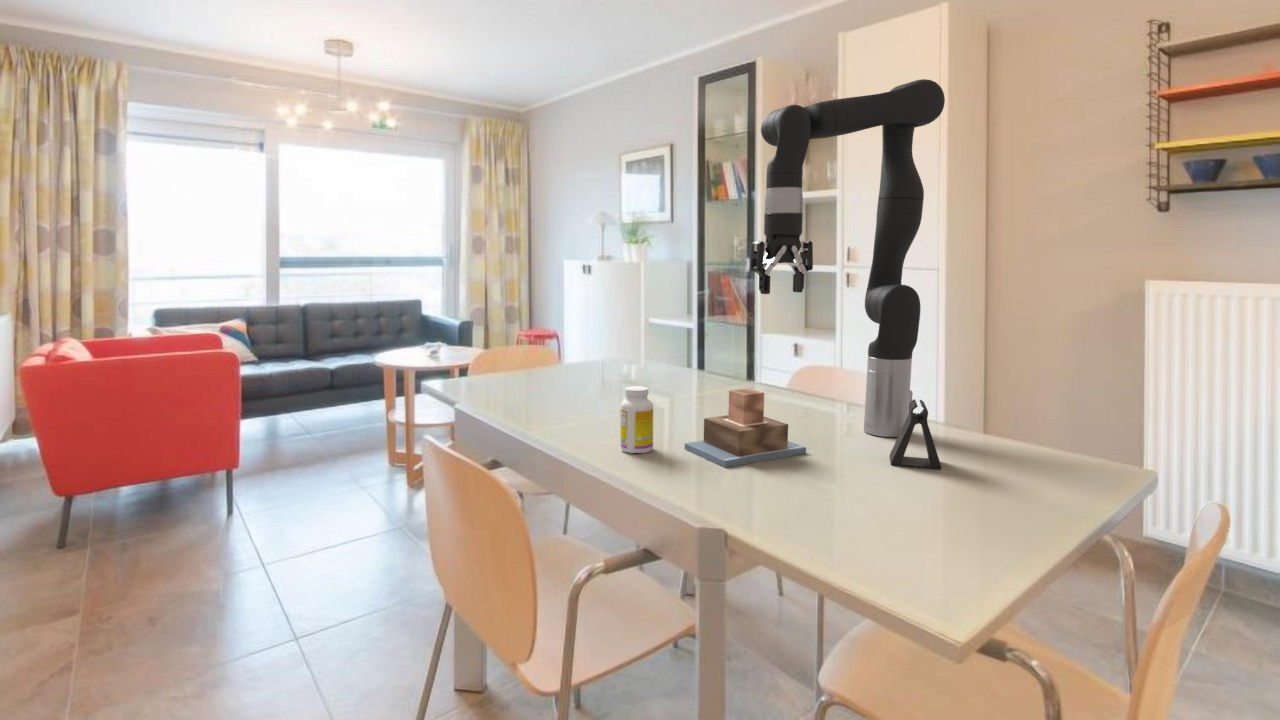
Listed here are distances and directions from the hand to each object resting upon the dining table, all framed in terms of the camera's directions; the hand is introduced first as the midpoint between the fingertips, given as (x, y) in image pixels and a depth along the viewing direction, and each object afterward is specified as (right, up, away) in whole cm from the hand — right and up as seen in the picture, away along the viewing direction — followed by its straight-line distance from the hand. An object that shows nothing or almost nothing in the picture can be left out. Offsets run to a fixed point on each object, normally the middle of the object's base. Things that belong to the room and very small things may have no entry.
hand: (781, 293), depth 144 cm
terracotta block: (-7, -26, -1) cm, 27 cm away
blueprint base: (-8, -32, 0) cm, 33 cm away
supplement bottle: (-30, -32, 0) cm, 44 cm away
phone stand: (+24, -34, -8) cm, 42 cm away
